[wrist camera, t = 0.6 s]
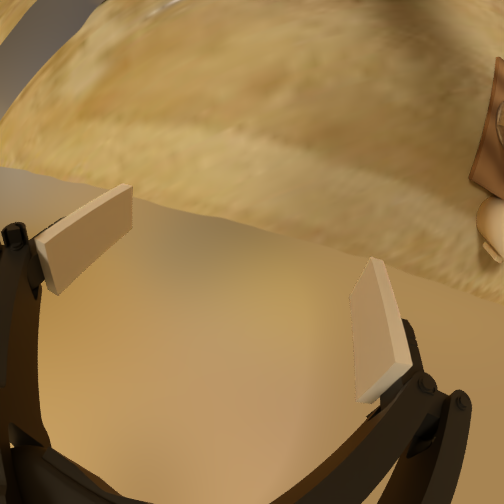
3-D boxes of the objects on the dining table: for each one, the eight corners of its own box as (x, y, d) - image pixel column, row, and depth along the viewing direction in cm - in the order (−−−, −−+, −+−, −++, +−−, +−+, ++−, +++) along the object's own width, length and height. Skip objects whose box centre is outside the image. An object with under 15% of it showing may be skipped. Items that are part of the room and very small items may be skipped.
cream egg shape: (486, 189, 32) (514, 209, 24) (511, 205, 31) (537, 226, 24) (466, 234, 37) (489, 261, 29) (491, 247, 36) (513, 273, 29)
